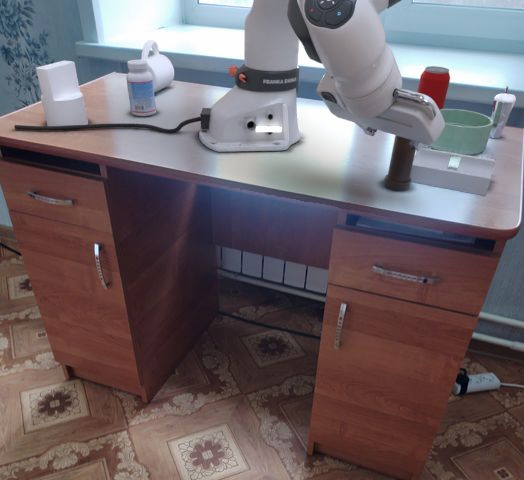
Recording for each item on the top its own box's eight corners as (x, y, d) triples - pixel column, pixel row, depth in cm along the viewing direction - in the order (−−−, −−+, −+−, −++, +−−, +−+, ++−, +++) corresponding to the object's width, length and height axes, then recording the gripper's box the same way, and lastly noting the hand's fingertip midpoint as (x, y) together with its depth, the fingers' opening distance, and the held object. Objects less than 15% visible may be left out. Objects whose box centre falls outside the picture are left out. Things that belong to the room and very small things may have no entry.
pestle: (391, 192, 92) (406, 120, 84) (378, 182, 95) (391, 111, 87) (414, 189, 93) (431, 118, 85) (401, 179, 96) (415, 110, 88)
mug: (130, 93, 137) (124, 42, 129) (149, 85, 144) (144, 36, 136) (158, 97, 135) (153, 45, 127) (175, 88, 142) (172, 39, 134)
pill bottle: (161, 112, 124) (156, 61, 117) (144, 118, 121) (138, 65, 113) (143, 108, 127) (137, 57, 120) (125, 113, 123) (118, 61, 116)
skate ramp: (403, 180, 96) (409, 153, 93) (416, 158, 105) (422, 133, 102) (485, 195, 92) (494, 168, 88) (491, 171, 101) (500, 145, 98)
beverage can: (436, 120, 126) (449, 66, 119) (441, 128, 121) (454, 73, 114) (409, 118, 127) (420, 64, 119) (412, 126, 122) (424, 71, 114)
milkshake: (503, 133, 120) (518, 87, 113) (503, 140, 116) (519, 93, 110) (483, 130, 121) (497, 85, 114) (483, 137, 117) (497, 90, 111)
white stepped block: (66, 115, 121) (54, 58, 113) (96, 121, 118) (86, 63, 110) (38, 125, 114) (23, 66, 106) (69, 132, 112) (57, 71, 104)
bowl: (445, 159, 105) (453, 129, 102) (411, 139, 115) (417, 111, 111) (497, 153, 109) (506, 124, 105) (460, 134, 118) (467, 107, 114)
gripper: (443, 79, 69) (459, 138, 80) (329, 53, 79) (357, 109, 91) (418, 120, 69) (437, 173, 81) (307, 89, 80) (338, 139, 92)
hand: (394, 138), depth 86 cm, fingers open, 8 cm apart
